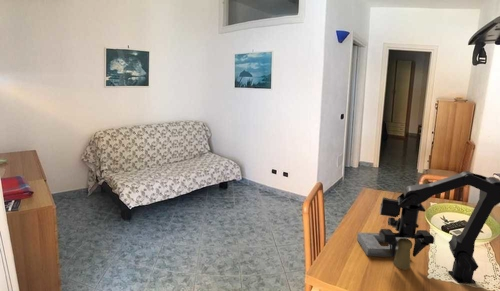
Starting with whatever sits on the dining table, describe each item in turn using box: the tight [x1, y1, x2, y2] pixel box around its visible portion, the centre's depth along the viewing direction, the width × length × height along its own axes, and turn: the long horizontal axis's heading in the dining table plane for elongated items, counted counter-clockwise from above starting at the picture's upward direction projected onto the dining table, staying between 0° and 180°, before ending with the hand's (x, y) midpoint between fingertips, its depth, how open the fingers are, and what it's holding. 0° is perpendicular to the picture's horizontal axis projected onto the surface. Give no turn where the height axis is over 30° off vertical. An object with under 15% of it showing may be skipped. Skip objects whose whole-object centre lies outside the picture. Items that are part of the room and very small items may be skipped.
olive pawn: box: [392, 238, 413, 271], centre depth 122 cm, size 6×6×11 cm
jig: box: [356, 232, 400, 258], centre depth 134 cm, size 13×17×4 cm
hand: (403, 255), depth 122 cm, fingers open, 8 cm apart
